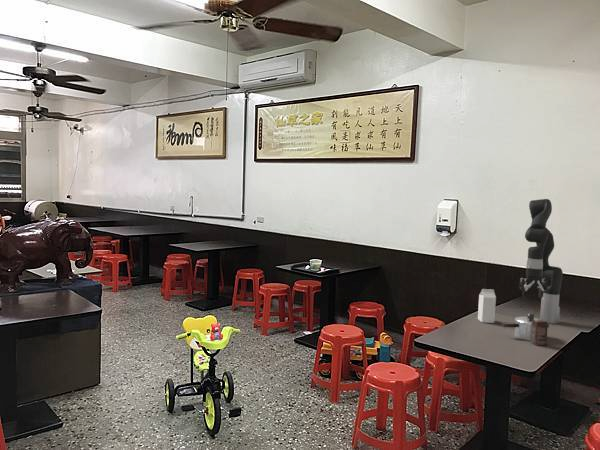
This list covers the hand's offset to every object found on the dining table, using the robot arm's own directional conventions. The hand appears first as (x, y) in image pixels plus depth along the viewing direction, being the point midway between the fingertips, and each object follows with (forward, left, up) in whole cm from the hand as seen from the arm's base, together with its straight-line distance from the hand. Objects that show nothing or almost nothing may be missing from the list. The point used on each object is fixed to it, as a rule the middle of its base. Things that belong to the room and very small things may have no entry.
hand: (532, 297), depth 242 cm
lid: (0, 0, -13) cm, 13 cm away
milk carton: (+9, -29, -21) cm, 37 cm away
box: (+3, +12, -21) cm, 24 cm away
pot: (+3, 0, -21) cm, 21 cm away
